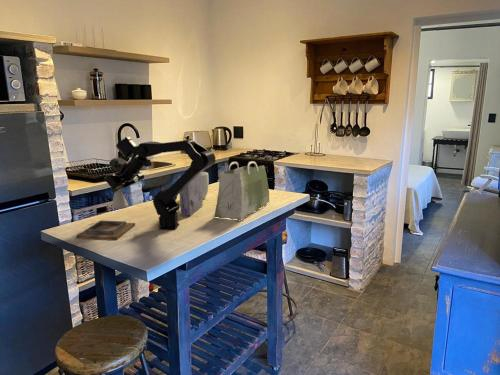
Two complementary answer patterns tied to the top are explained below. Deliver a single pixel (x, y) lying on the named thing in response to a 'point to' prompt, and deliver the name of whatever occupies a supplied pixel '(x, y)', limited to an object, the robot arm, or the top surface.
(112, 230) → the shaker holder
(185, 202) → the cake pan box
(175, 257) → the top surface
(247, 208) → the grocery bag
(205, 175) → the mug
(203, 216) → the top surface
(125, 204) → the flask
